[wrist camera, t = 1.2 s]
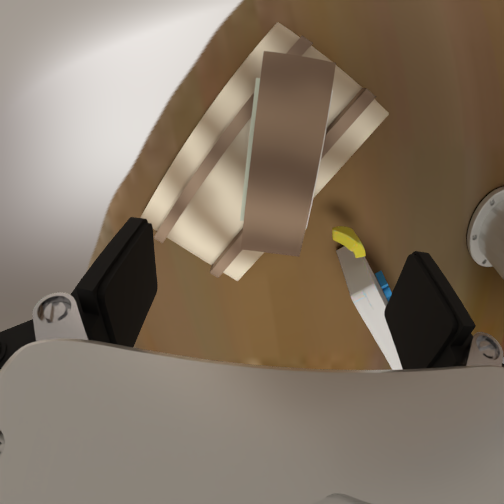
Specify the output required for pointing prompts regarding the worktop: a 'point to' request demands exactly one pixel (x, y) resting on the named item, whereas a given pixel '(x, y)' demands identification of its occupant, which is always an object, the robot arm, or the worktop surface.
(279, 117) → the brown rectangular block
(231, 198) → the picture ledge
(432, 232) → the worktop surface
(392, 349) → the white and blue box
